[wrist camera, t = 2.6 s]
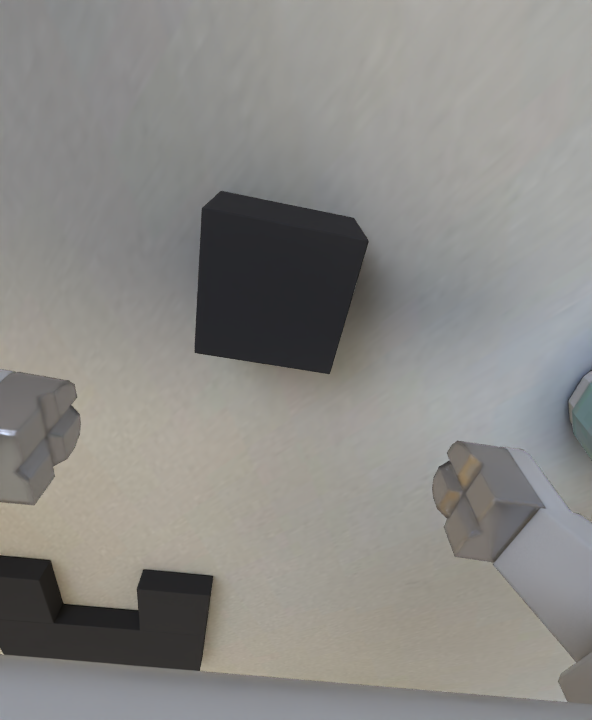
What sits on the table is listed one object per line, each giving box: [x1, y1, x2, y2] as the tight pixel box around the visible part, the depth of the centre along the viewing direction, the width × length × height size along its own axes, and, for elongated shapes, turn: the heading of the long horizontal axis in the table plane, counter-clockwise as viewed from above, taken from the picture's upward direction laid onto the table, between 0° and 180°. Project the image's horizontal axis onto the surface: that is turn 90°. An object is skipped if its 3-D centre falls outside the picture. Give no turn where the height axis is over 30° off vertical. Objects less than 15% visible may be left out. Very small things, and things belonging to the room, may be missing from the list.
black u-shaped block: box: [0, 556, 213, 671], centre depth 33 cm, size 18×16×2 cm
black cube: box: [195, 191, 368, 374], centre depth 15 cm, size 6×6×4 cm
